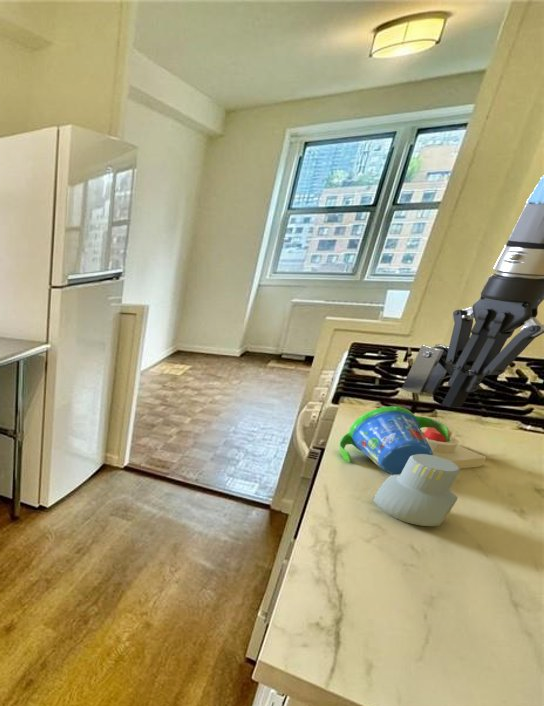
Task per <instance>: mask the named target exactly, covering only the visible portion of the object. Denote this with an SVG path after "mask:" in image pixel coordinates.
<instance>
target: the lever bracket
mask: <svg viewBox="0 0 544 706" xmlns="http://www.w3.org/2000/svg"><path fill="white" fill-rule="evenodd" d="M434 347H442V348H443V349H444V350H442V349H438V348H434ZM448 349H449V346H448V345H445V344H440V343H436V344H435V345H434V346H431V345H427V344H421V346H420V348H419V350H418V352H417V355H416V357H415V358H414V361H413V363H412V365H411V368H410V370H409V372H408V373H407V375H406V378H405V380H404V382H403V384H402V387H401V389H402V390H403V391H407V392H410V393H413V394H415V395H418V396H422V395H423V393H424V392H427V393H429V394H431V395H433V394H436V393H437V392H438V390H439V388H440V386H441V384H442V381H443V380H444V377H445V376H446V374H447V373H448V372H447V371H446V370H445V369H444V368H443V367H442V366H441V364H440V363H439V362H438V361H439V359H440V357H441V355H442V353H443V351H445V352H446V353H447V354H448ZM446 358H447V356H446V357H445V359H446Z"/></svg>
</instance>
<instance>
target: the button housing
mask: <svg viewBox="0 0 544 706" xmlns="http://www.w3.org/2000/svg"><path fill="white" fill-rule="evenodd" d="M421 431H422V432H423V434H424V433H425V431H426V429H421ZM425 438H426V437H425ZM426 440H427V442H428V443H429V445H430V447H431V450H432V452H433V456H437V457H441V458H444V459H446V460H449V461H451V462H453V463H454V464H456V465H457V466H458V468H459V469H460V470H461V469H467V468H477V467H482V466H483V464H484V463H485V461H486V460H487V457H486V456H484V455H482V454H479V453H477V452H475V451H473V450H470V449H468V448H466V447H464V446H461V445H459V443H460V441H459V440H458V439H457V438H455V437H454V436H453V435H451V436H450V441H449V442H439V441H435V440H431V439H428V438H426Z"/></svg>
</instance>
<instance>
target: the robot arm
mask: <svg viewBox="0 0 544 706" xmlns="http://www.w3.org/2000/svg"><path fill="white" fill-rule="evenodd" d="M525 203H526V204H525V206H524V208H523V209H522V211H521V214H520V216H519V217H518V220H517V222H516V223H515V226H513V229H512V232H511V234H510V235H509V238H508V240H507V242H506V243H505V245H504V248H502V251H501V253H500V255H499V257H498V259H497V260H496V263H495V265H494V267H493V268H492V269H493V271H494V272H496V273H492V274H491V275H489V276H488V278H487V280H486V282H485V284H484V286H483V287H482V289H481V291H480V298H479V299H477V301H475V302H474V303H473V305H472V306H470V307H467V308H464V309H455V310H454V311H453V312H452V318H453V323H454V325H453V328H452V333H451V337H450V340H449V341H450V342H449V346H448V347H449V349H448V354H447V358H446V363H447V364H451V365H452V366H453V368H454V369H455V370H454V372H453V374H452V376H450V378H449V380H448V382H447V386H448V387H450V388H449V389H448V391H447V393H446V395H445V397H444V399H443V400H442V402H441V405H442V406H446V407H447V408H458V407H462V406H463V405H464V403H465V402H466V400H467V398H468V396H469V394H471V393H470V392H474V391H476V390H477V388H478V386H479V385H481V383H482V381H483V380H484V378H485V377H487V376H496V375H501V374H502V373H504V371H505V370H506V369H507V368H508V367H509V366H510V365H511V364H512V363H513V362H514V361H515V360H516V359H517V358H518V357H519V356H520V354H521V353H522V352H524V350H525V349H526V348H527V347H528V346H529V345H530V344H531V343H532V342H533V341H534V340H535V339H536V338H538V337H539V336H541V335H543V334H544V324H542V323H541V322H540V321H539V320H538V319H537V318H536V317H537V316H538V314H539V313H538V312H539V311H538V308H539V306H540V304H541V303H542V302H543V301H544V174H543V175H542V176H541V177H540V180H539V181H538V183H537V184H536V185H535V187H534V189H533V190H532V192H531V194H530V195H529V197H528V198H527V200H526V202H525ZM474 321H475V323H474ZM519 328H520V329H519ZM517 329H519V331H520V332H518V333H517V334H516V335H514V336H513V334H514V332H515V330H517ZM512 336H513V337H512ZM511 337H512V339H511V340H509V342H508V343H507V344H506V342H507V341H508V339H510V338H511ZM505 344H506V345H505Z"/></svg>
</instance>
